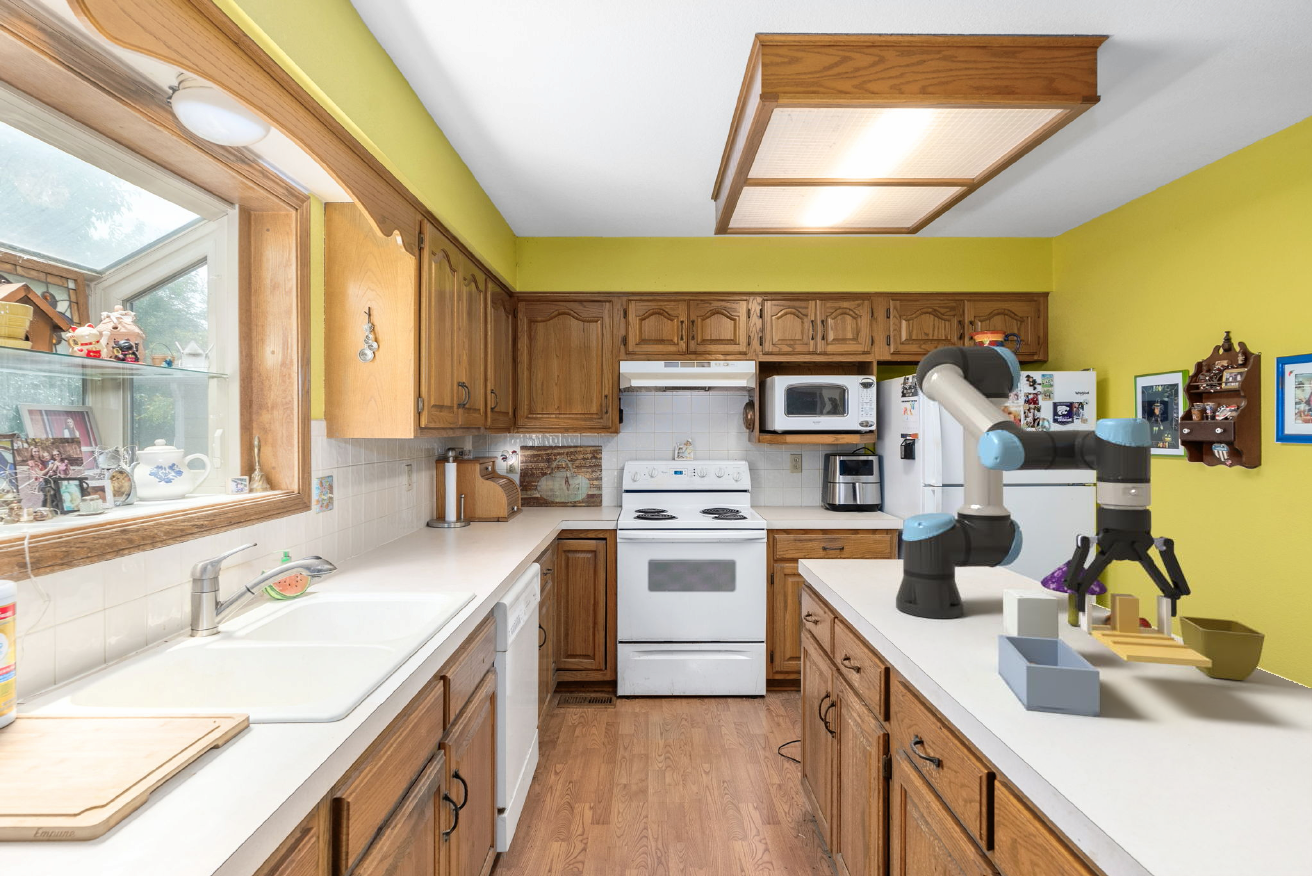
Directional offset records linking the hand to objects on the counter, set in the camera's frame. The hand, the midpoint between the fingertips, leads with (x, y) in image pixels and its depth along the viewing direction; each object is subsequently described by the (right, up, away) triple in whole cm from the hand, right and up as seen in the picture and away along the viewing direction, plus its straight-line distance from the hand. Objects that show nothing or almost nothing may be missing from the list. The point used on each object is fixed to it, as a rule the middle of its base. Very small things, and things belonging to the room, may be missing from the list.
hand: (1124, 632), depth 106 cm
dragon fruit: (+12, -9, +16) cm, 22 cm away
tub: (-17, -9, -4) cm, 19 cm away
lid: (-1, -1, -5) cm, 6 cm away
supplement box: (-9, -9, +12) cm, 17 cm away
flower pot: (+19, -9, +3) cm, 21 cm away
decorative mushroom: (+12, -8, +31) cm, 34 cm away
